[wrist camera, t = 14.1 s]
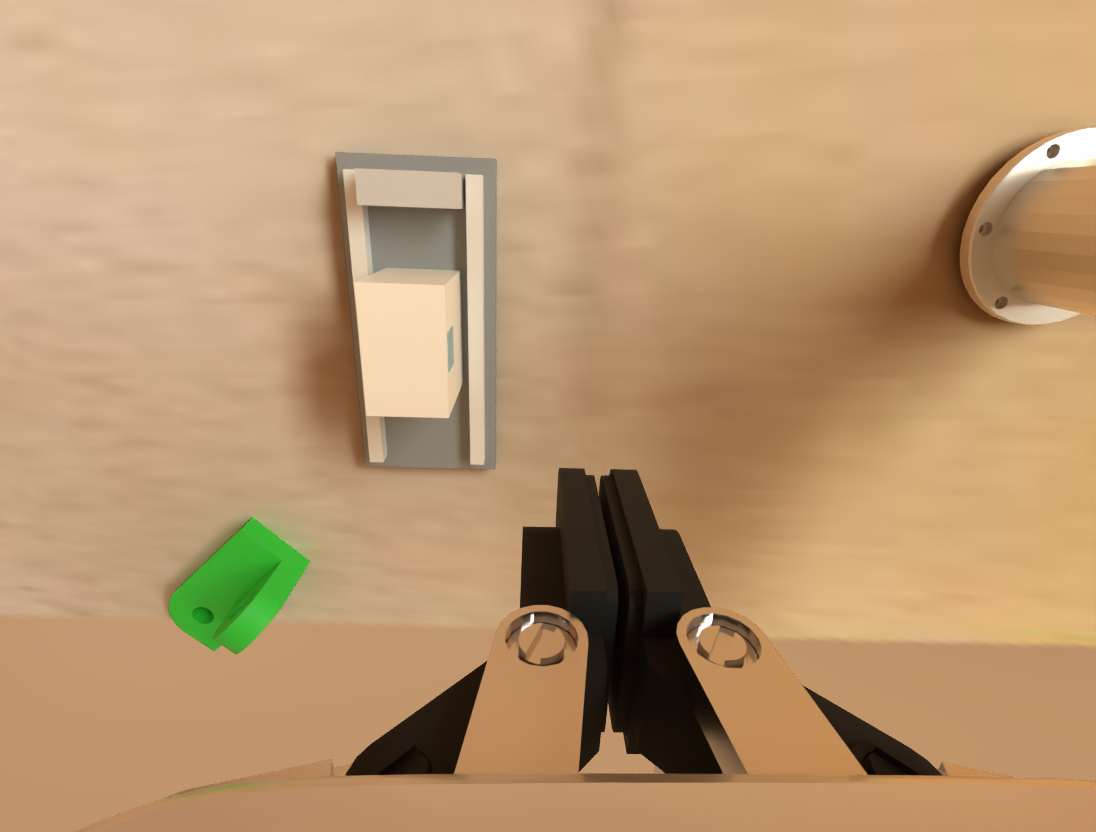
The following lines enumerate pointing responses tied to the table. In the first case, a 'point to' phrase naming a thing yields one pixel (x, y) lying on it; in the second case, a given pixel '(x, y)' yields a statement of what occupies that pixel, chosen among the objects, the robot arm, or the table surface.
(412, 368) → the block
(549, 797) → the robot arm
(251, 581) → the mechanical part
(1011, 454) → the table surface
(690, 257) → the table surface
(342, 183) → the rail plate
